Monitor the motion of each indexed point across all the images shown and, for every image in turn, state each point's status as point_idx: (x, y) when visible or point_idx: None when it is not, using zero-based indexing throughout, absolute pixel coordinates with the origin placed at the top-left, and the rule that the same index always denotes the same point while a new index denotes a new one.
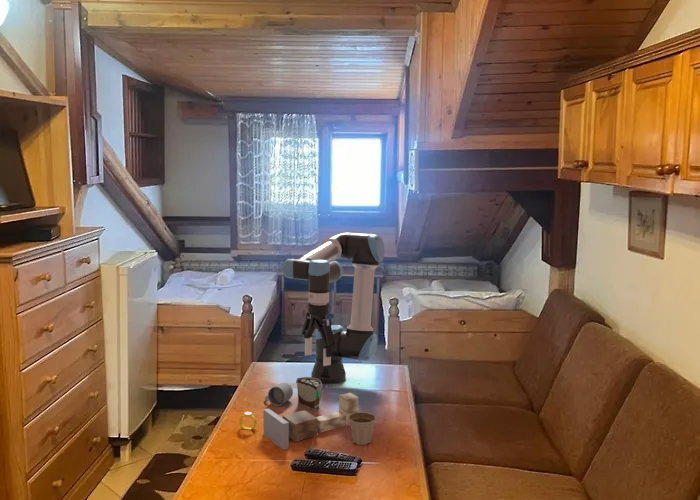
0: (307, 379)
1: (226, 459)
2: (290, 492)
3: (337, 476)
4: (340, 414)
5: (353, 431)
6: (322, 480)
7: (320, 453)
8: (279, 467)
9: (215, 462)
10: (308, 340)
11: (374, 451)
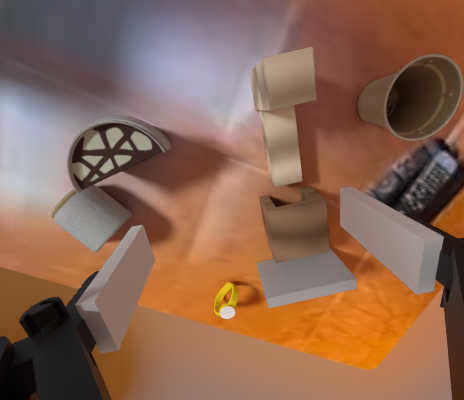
0: (78, 156)
1: (317, 327)
2: None
3: (458, 201)
4: (285, 115)
5: (397, 128)
6: (452, 226)
7: None
8: (379, 272)
9: (319, 339)
10: (118, 316)
11: None
